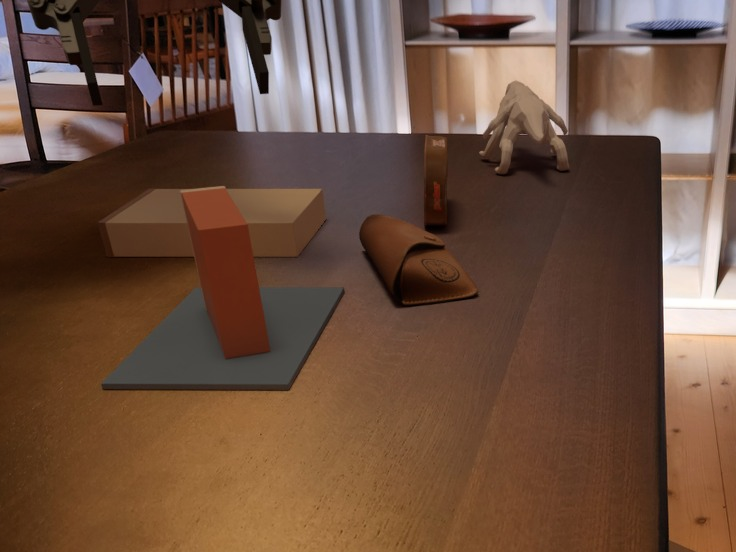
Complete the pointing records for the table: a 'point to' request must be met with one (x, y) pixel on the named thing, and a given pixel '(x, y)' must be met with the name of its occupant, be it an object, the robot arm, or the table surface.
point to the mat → (204, 354)
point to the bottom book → (170, 231)
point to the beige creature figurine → (524, 125)
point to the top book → (226, 270)
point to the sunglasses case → (414, 262)
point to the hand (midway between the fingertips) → (182, 89)
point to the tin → (435, 180)
